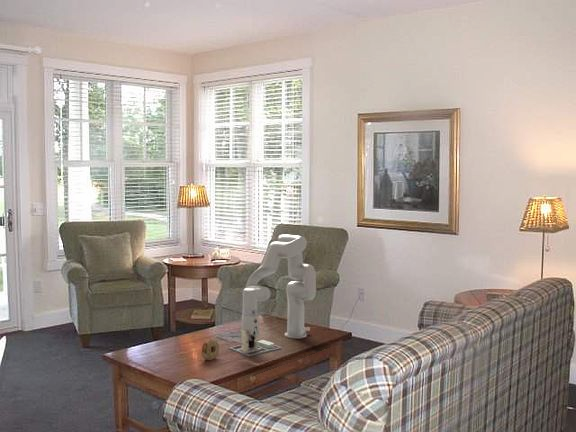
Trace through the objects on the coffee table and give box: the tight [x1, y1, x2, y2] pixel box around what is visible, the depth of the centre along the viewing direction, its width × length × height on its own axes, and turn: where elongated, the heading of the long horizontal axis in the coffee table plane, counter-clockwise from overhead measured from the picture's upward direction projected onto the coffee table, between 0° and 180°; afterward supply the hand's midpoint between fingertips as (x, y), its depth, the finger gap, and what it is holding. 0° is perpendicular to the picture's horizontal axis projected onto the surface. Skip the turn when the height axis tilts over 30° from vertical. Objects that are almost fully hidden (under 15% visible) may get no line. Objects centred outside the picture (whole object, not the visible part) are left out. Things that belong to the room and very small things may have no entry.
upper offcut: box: [257, 339, 275, 350], centre depth 333 cm, size 4×9×2 cm, turn 45°
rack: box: [228, 339, 283, 358], centre depth 329 cm, size 22×17×2 cm
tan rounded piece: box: [201, 338, 220, 361], centre depth 314 cm, size 10×4×10 cm, turn 143°
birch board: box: [240, 330, 258, 352], centre depth 326 cm, size 8×3×12 cm, turn 131°
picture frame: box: [216, 329, 264, 344], centre depth 352 cm, size 16×2×22 cm
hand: (249, 346), depth 326 cm, fingers closed on birch board, 3 cm apart
